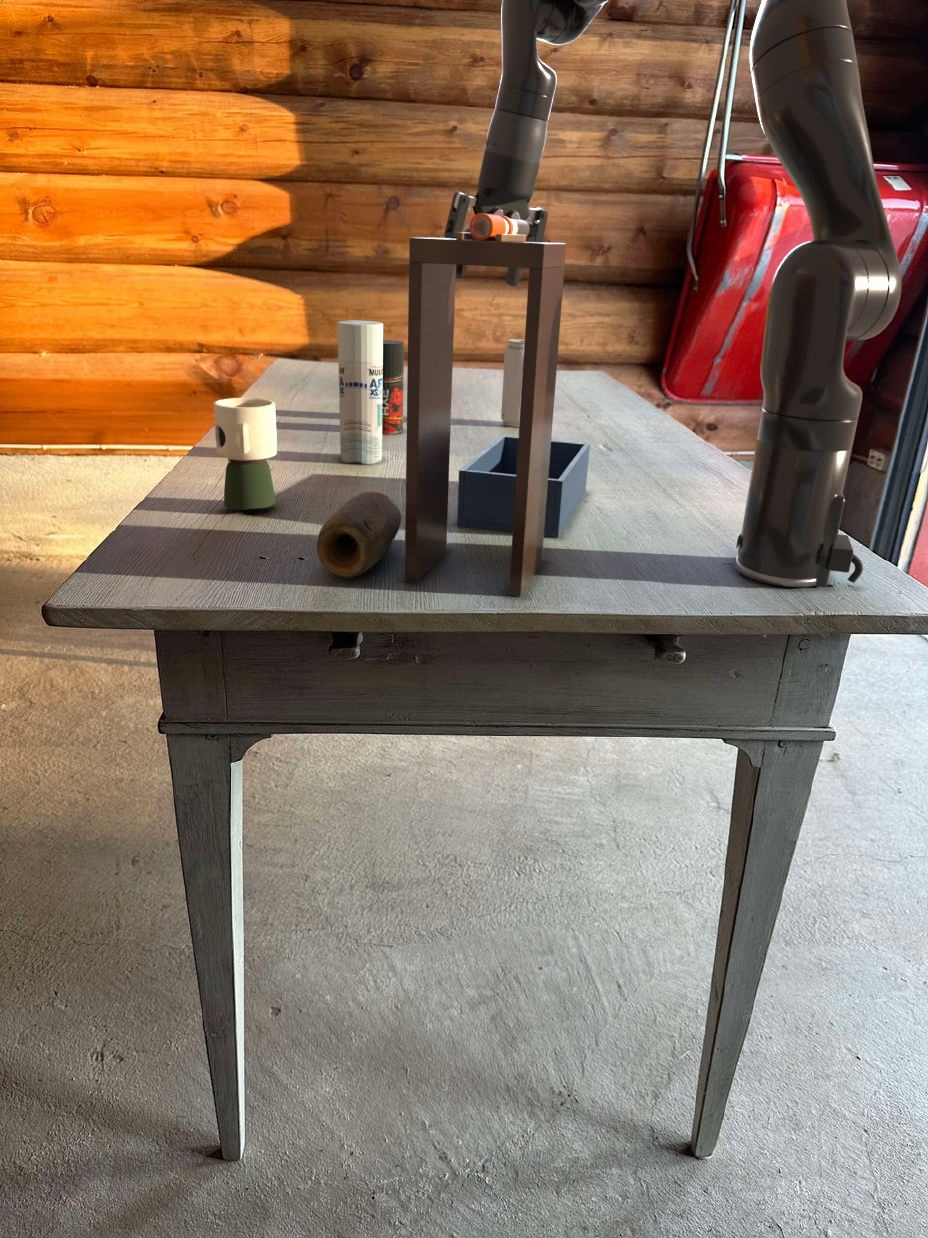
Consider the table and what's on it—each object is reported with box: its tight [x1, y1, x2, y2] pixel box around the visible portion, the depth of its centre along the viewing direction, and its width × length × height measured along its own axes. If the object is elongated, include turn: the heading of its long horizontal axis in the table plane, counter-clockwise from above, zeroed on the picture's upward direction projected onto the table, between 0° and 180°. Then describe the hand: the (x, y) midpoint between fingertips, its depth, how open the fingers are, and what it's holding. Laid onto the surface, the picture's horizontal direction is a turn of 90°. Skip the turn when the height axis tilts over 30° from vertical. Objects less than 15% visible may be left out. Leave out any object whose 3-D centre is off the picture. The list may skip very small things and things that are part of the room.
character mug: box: [213, 397, 278, 513], centre depth 110 cm, size 11×7×13 cm, turn 9°
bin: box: [456, 435, 591, 539], centre depth 117 cm, size 12×22×7 cm, turn 164°
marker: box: [469, 213, 529, 241], centre depth 87 cm, size 17×2×2 cm, turn 164°
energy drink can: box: [500, 338, 525, 428], centre depth 166 cm, size 6×6×15 cm
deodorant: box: [382, 339, 405, 435], centre depth 157 cm, size 6×6×15 cm
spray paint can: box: [337, 319, 384, 465], centre depth 135 cm, size 6×6×20 cm
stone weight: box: [316, 491, 402, 579], centre depth 96 cm, size 15×7×7 cm, turn 176°
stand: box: [403, 232, 567, 598], centre depth 89 cm, size 12×11×33 cm
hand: (485, 281), depth 127 cm, fingers open, 8 cm apart
